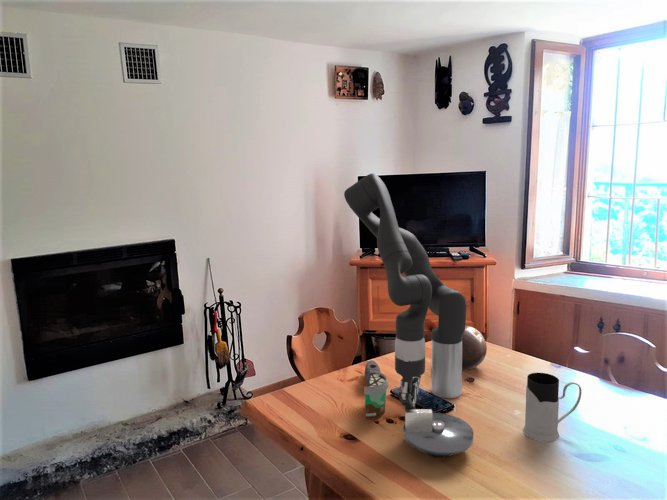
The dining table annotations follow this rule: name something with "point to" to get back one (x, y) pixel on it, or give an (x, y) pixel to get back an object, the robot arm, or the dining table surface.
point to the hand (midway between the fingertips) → (410, 417)
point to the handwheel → (436, 432)
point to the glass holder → (544, 406)
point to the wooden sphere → (472, 348)
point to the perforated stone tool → (371, 369)
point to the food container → (375, 395)
